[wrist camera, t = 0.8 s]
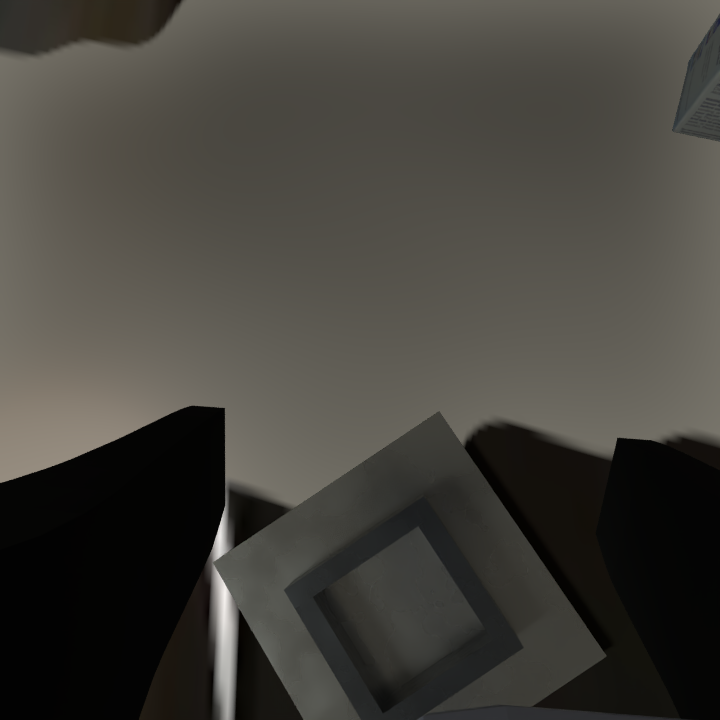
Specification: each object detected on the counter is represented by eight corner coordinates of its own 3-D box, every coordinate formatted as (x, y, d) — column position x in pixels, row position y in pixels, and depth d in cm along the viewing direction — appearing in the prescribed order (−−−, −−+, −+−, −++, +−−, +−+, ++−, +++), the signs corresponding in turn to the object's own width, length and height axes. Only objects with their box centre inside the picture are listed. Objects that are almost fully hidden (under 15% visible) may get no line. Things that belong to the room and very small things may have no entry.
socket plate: (603, 652, 30) (620, 670, 27) (363, 813, 30) (357, 846, 27) (438, 412, 32) (440, 408, 30) (216, 560, 32) (199, 569, 30)
